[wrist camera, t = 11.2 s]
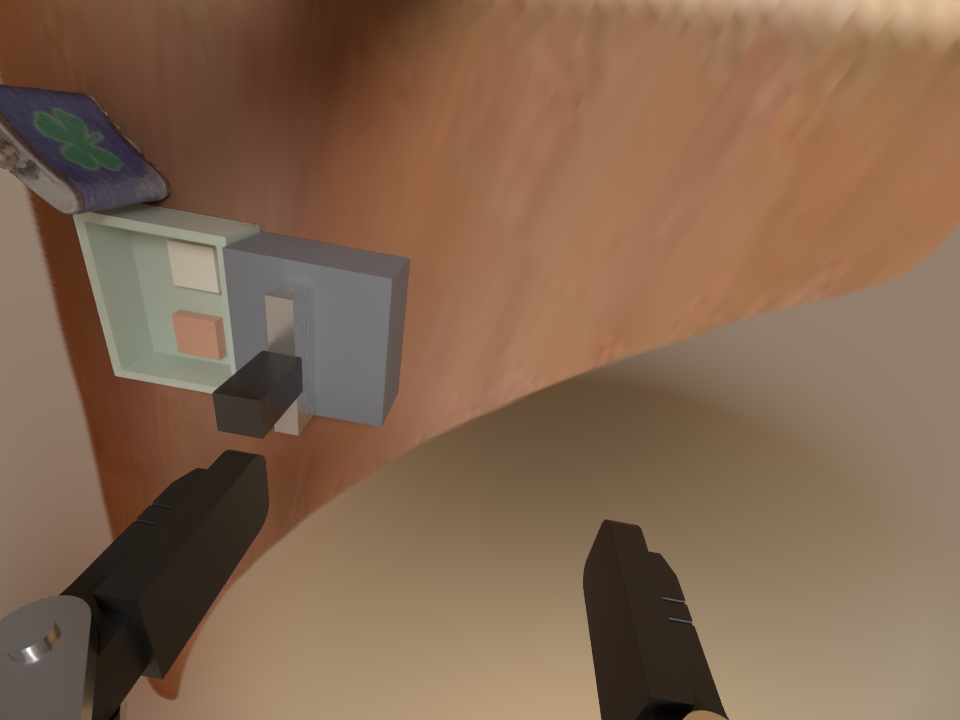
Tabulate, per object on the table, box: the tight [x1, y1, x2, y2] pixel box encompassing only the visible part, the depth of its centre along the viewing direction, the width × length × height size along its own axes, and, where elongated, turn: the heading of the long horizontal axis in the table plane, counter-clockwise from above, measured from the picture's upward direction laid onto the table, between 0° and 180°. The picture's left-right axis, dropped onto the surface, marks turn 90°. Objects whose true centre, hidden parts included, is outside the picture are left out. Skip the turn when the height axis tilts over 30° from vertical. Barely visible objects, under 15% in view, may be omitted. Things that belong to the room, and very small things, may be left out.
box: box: [73, 203, 260, 394], centre depth 39 cm, size 15×12×5 cm
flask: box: [0, 85, 171, 215], centre depth 31 cm, size 9×3×11 cm, turn 35°
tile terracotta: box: [172, 310, 227, 360], centre depth 42 cm, size 4×4×1 cm
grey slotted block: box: [222, 232, 410, 427], centre depth 39 cm, size 14×13×6 cm
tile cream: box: [166, 238, 222, 293], centre depth 39 cm, size 4×4×1 cm
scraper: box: [212, 280, 316, 439], centre depth 32 cm, size 12×3×10 cm, turn 171°
